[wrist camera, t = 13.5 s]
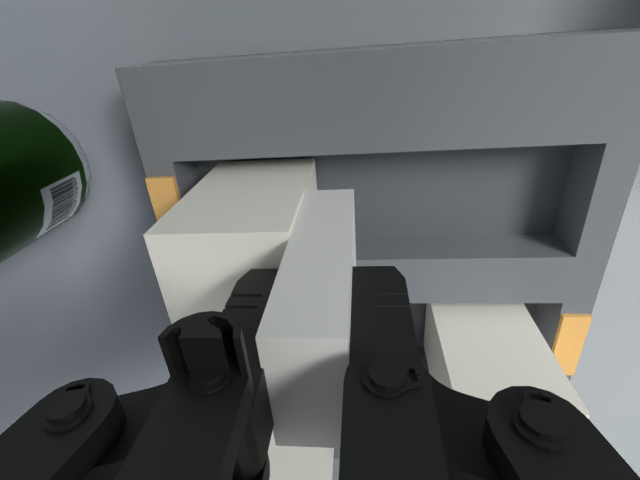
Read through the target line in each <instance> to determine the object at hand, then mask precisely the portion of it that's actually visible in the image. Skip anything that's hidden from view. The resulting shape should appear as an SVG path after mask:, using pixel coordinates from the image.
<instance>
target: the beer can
mask: <svg viewBox="0 0 640 480" xmlns="http://www.w3.org/2000/svg"><path fill="white" fill-rule="evenodd" d="M89 181H90V172H89V167H88V162H87V158H86V156H85V154H84V153H83V151H82V149H81V147H80V145H79V143H78V141H77V140H76V139H75V138H74V137H73V136H72V134H71V133H70V132H69V131H68V130H67V128H66V127H65V126H63V125H62V124H61V123H59V122H58V121H57V120H55V119H54V118H53V117H51V116H50V115H49V114H46V113H44V112H41V111H39V110H37V109H34V108H32V107H29V106H26V105H23V104H20V103H17V102H10V101H1V100H0V263H1V262H3V261H4V260H6V259H7V258H9V257H10V256H12V255H13V254H15V253H17V252H18V251H20V250H21V249H23V248H24V247H26V246H27V245H29V244H30V243H32V242H33V241H35V240H37V239H38V238H40V237H41V236H43V235H44V234H46V233H47V232H49V231H50V230H52V229H53V228H55V227H57V226H58V225H60V224H61V223H63V222H64V221H66V220H67V219H69V218H70V217H72V216H73V215H75V214H76V213H77V212H78V211H79V209H80V207H81V206H82V204H83V202H84V201H85V198H86V195H87V192H88V189H89Z"/></svg>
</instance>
